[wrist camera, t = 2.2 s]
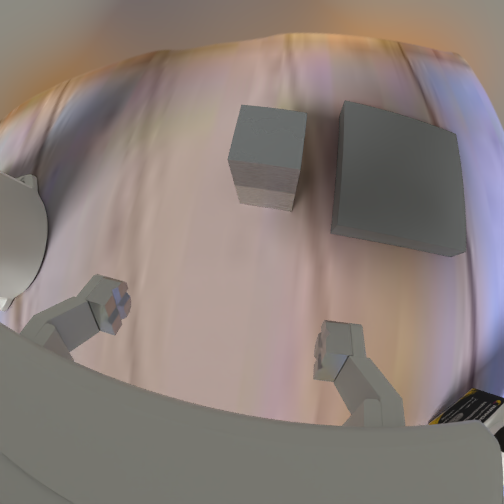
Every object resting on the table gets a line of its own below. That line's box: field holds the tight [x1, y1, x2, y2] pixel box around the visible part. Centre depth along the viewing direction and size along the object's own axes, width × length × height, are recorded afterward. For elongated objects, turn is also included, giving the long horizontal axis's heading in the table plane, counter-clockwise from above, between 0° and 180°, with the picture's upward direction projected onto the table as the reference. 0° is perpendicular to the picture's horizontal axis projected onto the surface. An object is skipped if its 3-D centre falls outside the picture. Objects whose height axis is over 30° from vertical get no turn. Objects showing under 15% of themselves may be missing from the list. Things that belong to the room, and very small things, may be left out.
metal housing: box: [228, 105, 307, 212], centre depth 24 cm, size 5×5×9 cm
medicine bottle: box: [428, 388, 504, 486], centre depth 16 cm, size 7×7×12 cm
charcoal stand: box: [331, 101, 466, 257], centre depth 26 cm, size 14×14×3 cm
